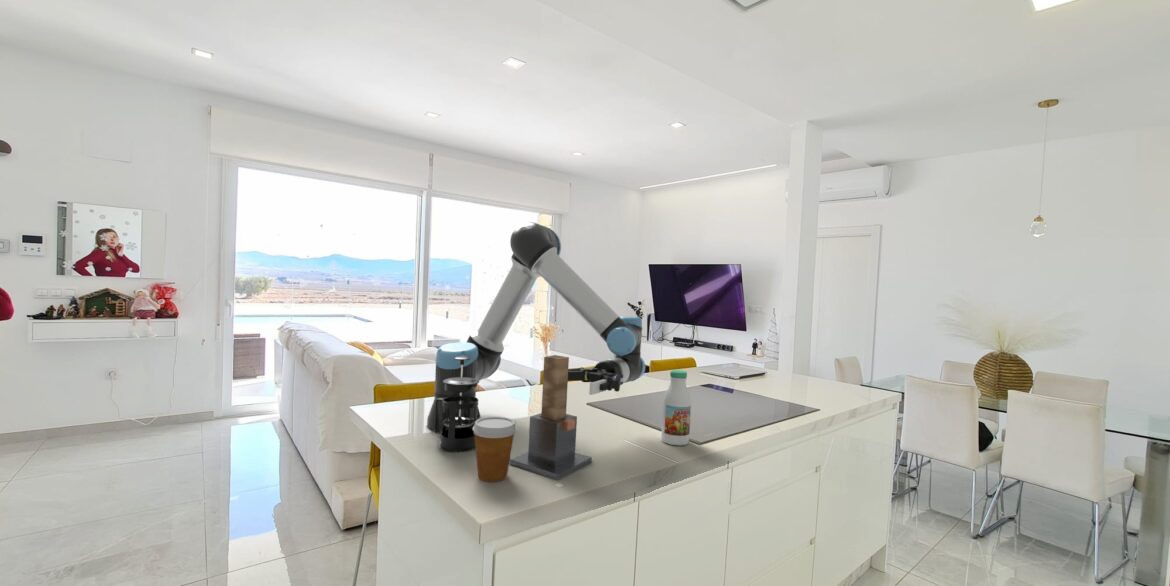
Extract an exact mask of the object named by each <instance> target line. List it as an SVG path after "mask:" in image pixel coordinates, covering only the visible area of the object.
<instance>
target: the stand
mask: <svg viewBox="0 0 1170 586" xmlns="http://www.w3.org/2000/svg"><path fill="white" fill-rule="evenodd" d="M541 413H542V412H541ZM541 413H538V414H535V415H532V416H529V432H528V433H529V434H528V451H526V452H524V453H522V454H519V455H516V456H514V457H510V461H509V465H511V466H514V467H517V468H520V469H523V470H526V471H529V472H532V473H536V474H538V475H542V476H544V477H548V478H550V479H553V478H554V479H553V480H556V479H557V480H556V481H559V480H560V479H562V478H564V477H566V476H568V475H569V473H570V474H571V473H573V472H575V471H577V470H580V469H581V468H583V467H585V466H587V465H589V464H591V463H592V462H593V457H592V456H590V455H586V454H582V453H580V452H576V443H577V442H576V441H577V424H578V423H577V422H578V421H577V420H578V416H577V415H572V414H568V413H566V418H563V419H560V420H557V421H554V420H550V419H546V418H542V417H541Z"/></svg>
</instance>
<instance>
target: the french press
mask: <svg viewBox="0 0 1170 586" xmlns="http://www.w3.org/2000/svg"><path fill="white" fill-rule="evenodd" d="M454 359H455V360H460V365H461V377H457V378H448V379H445V380H444V381H443V383H444V384H445V390H446V391H448V392H454V393H460V396H450V397H446V398H438V399H436V412H435V430H434V434H440V443H439V449H440V450H442V451H444V452H449V453H464V452H469V451H472V450H476V445H475V434H474V431H473V429H470V427H471V426H474V425H475V421H477V413H478V409H479V398H477V396H476V397H472V396H461V394H462V393H464V392H467V391H468V390H470V389H471V388H472V387H476V388H477V386H478V384H479V383H480V381H479V380H478V379H474V378H466V377H462V371H463V365H464V360H470V359H471V358H469V357H464V356H460V357H455V358H454ZM440 401H442V406H443V413H442V430H439V415H440ZM450 401H460V404H451V403H447V402H450ZM461 401H464V404H461ZM471 401H472V402H473V403H471ZM446 408H448V409H449V418H447V419H446ZM470 408H474V418H470ZM456 409H459V417H456ZM461 409H464V417H461ZM446 427H449V428H448V430H446Z"/></svg>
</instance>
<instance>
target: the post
mask: <svg viewBox="0 0 1170 586" xmlns="http://www.w3.org/2000/svg"><path fill="white" fill-rule="evenodd" d="M569 363H570V357H569V356H562V355H556V354H554V355H547V356H544V357H543V374H542V376H543V377H542V393H541V394H542V395H541V417H542V418H546V419H550V420H554V421H557V420H560V419H563V418H566V414H567V403H568V385H569V383H568V382H569V381H568V369H569Z"/></svg>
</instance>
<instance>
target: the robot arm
mask: <svg viewBox="0 0 1170 586" xmlns="http://www.w3.org/2000/svg"><path fill="white" fill-rule="evenodd" d="M560 239H561V238H560V237H559V235H558V234H557V232H555V231H554V230H553V229H551V228H550V227H548V226H545V225H541V224H539V223H537V222H533V221H532V222H531V221H530V222H529V221H528V222H523V223H521V224H519V225H518V226H517V227H515V229H514V230H513V232H512V233H511V236H510V240H509V243H510V248H511V251H512V255H511V257H510V259H511V262H512V266H511V268H510V270H509V271H508V274H507V275H506V277H505V278H504V281H503V283H502V285H500V289H499V290H498V292H497V294H496V296H495V298H494V300H493V301H492V303H491V305H490V307H489V309H488V311H487V313H486V314H485V316H484V319H483V320H482V322H481V324H480V326H479V328H478V329H477V330H476V331H472V332H471V333H470V335H469V336H468V338H467V340H466V341H465V342H464V341H460V342H459V341H458V342H456V341H455V342H450V343H446V344H443V345H441V346H439V347H438V348H437V351H436V357H435V373H434V377H435V378H434V379H435V380H434V399H433V403H432V405H431V407H430V410H429V413H428V416H427V419H426V422H427V423H426V426H427V428H428V429H430V430H433V431H435V412H436V399H438V398H446V397H450V396H460V393H454V392H448V391H446V390H445V384H444V383H443V381H444V380H445V379H448V378H457V377H461V365H460V360H455V359H454V358H455V357H460V356H464V357H469V358H471V359H470V360H464V365H463V371H462V377H466V378H474V379H478V380H479V382H480V381H483V380H484V379H488V378H490V377H491V376H493V375H494V374H495V373H496V371H497V370H498V369H499V367H500V364H501V363H502V361H501V359H502V356H501V355H503V352H504V350H505V347H504V344H503V342H504V340H505V339H506V336H507V335H508V334H509V331H510V330H511V327H512V326H513V323H514V322H515V320H516V319H517V317H518V314H519V312H520V310H521V309H522V307H523V305H524V303H525V301H526V299H527V297H528V295H529V294H530V292H531V290H532V288H533V286H534V285H535V283H536V280H537V279H538V278H543V280H544V281H545V282H546V283H547V284H549V286H550V287H551V288H552V289H553V290H554V291H555V292H556V293H557V294H558V295H559V296H560V297H561V298H562V299H563V300H564V301H565V302H566V303H567V304H568V305H569V306H570V307H571V308H572V309H573V310H574V311H575V312H576V313H577V315H579V316H580V317H581V318H582V320H584V321H585V322H586V324H588V326H590V327H591V329H593V331H595V333H597V335H598V336H599V337H600V338H601V339H602V340H603V341H604V342H605V343H606V346H607V349H608V350H609V351H610V352H611V353H612V354H613V355H615V356H614V358H608V359H607V360H602V361H598V362H597V363H596V364H595V365H594V367H591V368H585V367H583V366H582V367H575V368H568V382H569V381H576V382H577V381H580V382H582V383H589V393H588V394H589V395H591V396H593V395H597V394H599V393H602V392H606V391H608V392H609V391H610V392H611V391H612V390H614V392H620V389H621V388H620V387H621V386H622V385H623V384H625V383H629V382H635V381H636V380H638V379H639V378H641V377H642V376H643V375H644V374H645V372H646V364H645V361H644V359H643V358H642V357H641V356H642V355H641V348H642V334H643V333H642V332H643V320H642V318H641V317H639V316H635V315H634V316H633V315H621V316H620V315H618V314H617V313H616V312H615V311H614V310H613V308H611V307H610V305H608V304H607V302H606V301H604V300H603V299H602V298H601V297H600V296H599V295H598V294H597V293H596V292H595V291H594V290H593V288H591V287H590V286H589V284H587V283H586V282H585V281H584V280H583V279H582V278H581V277H580V276H579V274H577V272H576V271H574V269H572V268H571V266H570V265H569V264H568V263H566V261H564V259H563V258H561V256H560V255H561V251H562V244H561V240H560ZM476 394H477V387H472V388H471V389H470V390H468V391H467V392H464V393H462V394H461V396H472V397H476V398H477V396H476ZM447 403H451V404H460V401H450V402H447ZM471 403H473V402H472V401H471ZM461 404H464V401H461ZM442 413H443V406H442V401H440V415H439V430H442ZM456 417H459V409H456ZM461 417H464V409H461ZM447 418H449V409H448V408H446V419H447ZM470 418H474V408H470ZM481 418H482V417H481V413H480V410H479V408H478V413H477V420H478V419H481ZM448 428H449V427H446V430H448ZM470 429H473V426H471V427H470Z"/></svg>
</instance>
